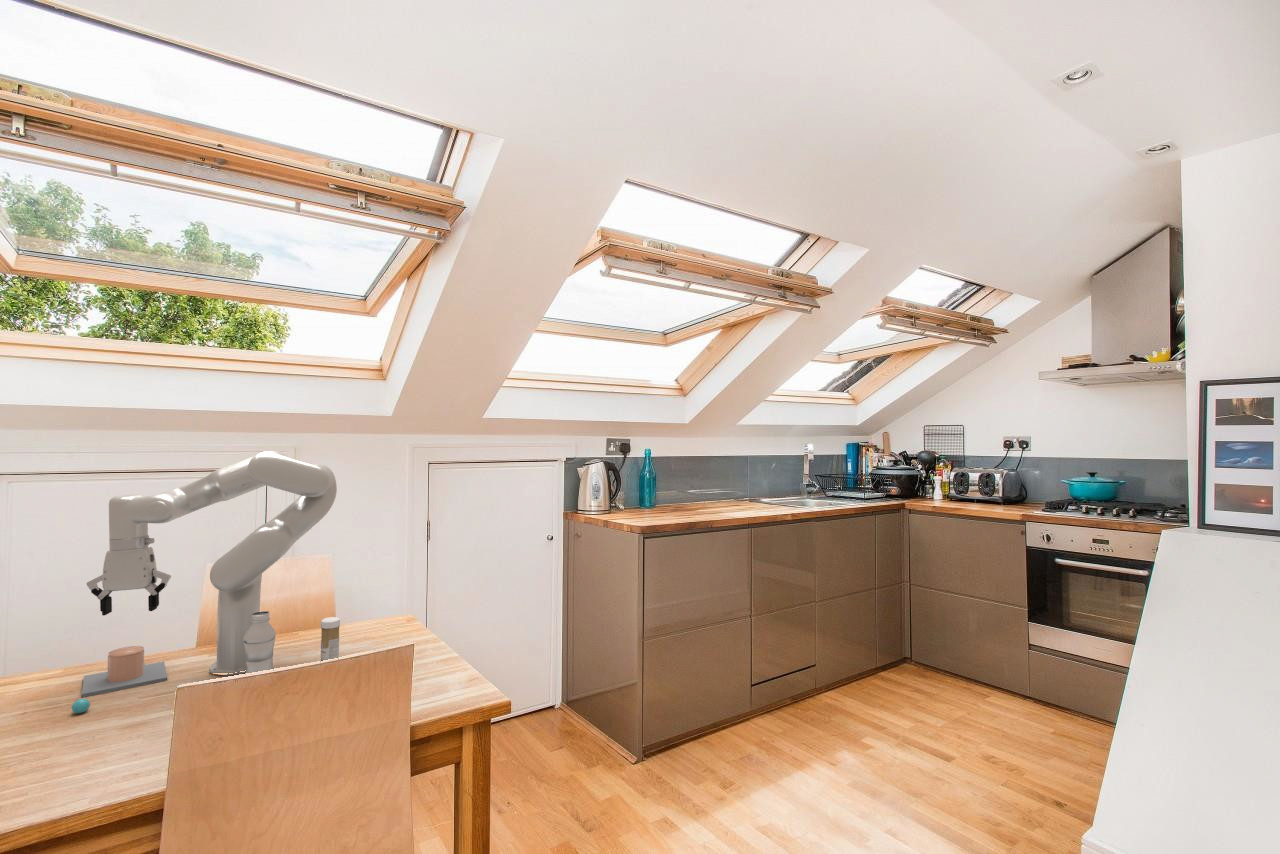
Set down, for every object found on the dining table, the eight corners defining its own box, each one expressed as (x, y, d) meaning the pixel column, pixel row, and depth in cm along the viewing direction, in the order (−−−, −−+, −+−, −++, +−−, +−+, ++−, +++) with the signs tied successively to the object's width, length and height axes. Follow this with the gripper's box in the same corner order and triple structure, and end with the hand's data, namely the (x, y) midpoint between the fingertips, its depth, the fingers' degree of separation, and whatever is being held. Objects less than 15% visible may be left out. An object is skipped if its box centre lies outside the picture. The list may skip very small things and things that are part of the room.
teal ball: (93, 709, 138) (93, 696, 138) (80, 716, 135) (81, 702, 135) (80, 709, 138) (80, 696, 139) (67, 715, 136) (67, 701, 136)
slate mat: (163, 664, 166) (163, 661, 166) (167, 680, 155) (167, 677, 155) (83, 679, 155) (83, 675, 155) (81, 697, 145) (81, 694, 145)
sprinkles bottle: (316, 670, 163) (317, 619, 163) (334, 665, 166) (335, 615, 167) (324, 674, 160) (325, 622, 160) (342, 669, 163) (343, 618, 164)
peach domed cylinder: (150, 671, 158) (150, 646, 159) (126, 682, 152) (127, 655, 152) (124, 670, 159) (125, 645, 159) (100, 681, 152) (101, 655, 152)
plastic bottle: (281, 694, 148) (283, 610, 148) (256, 706, 141) (257, 618, 141) (261, 690, 150) (263, 608, 150) (235, 701, 143) (237, 615, 144)
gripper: (175, 539, 162) (176, 604, 162) (95, 544, 157) (96, 611, 157) (163, 544, 155) (164, 612, 155) (78, 549, 149) (79, 620, 149)
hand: (130, 611), depth 156 cm, fingers open, 9 cm apart
